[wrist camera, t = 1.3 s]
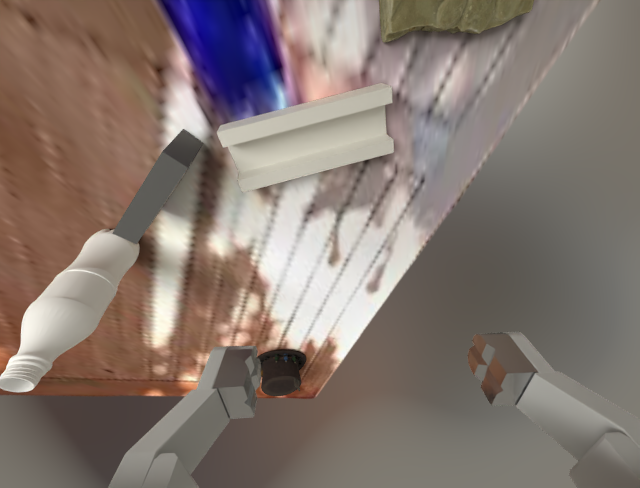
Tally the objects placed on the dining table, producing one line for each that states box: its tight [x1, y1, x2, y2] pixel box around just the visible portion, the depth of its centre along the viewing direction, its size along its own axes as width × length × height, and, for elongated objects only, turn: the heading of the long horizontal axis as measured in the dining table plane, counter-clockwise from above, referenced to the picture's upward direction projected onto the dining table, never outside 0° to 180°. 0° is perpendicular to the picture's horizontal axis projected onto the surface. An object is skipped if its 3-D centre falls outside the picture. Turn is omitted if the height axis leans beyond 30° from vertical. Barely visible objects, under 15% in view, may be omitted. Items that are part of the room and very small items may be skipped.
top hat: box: [257, 350, 306, 396], centre depth 74 cm, size 15×15×10 cm
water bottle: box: [0, 229, 139, 392], centre depth 37 cm, size 7×7×25 cm
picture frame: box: [112, 129, 203, 244], centre depth 38 cm, size 3×14×10 cm, turn 137°
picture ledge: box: [217, 83, 394, 193], centre depth 40 cm, size 9×24×4 cm, turn 102°
